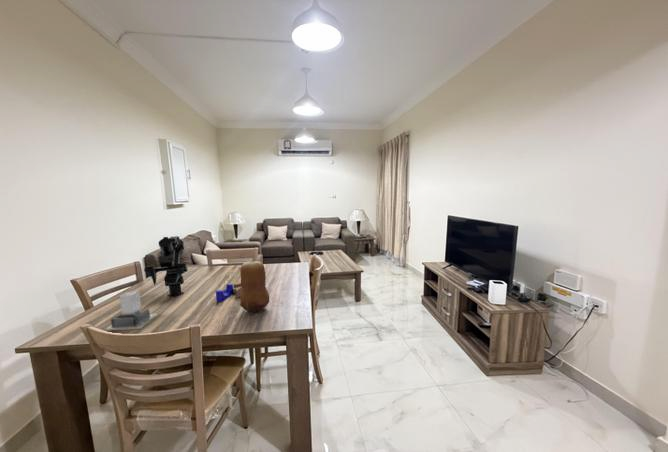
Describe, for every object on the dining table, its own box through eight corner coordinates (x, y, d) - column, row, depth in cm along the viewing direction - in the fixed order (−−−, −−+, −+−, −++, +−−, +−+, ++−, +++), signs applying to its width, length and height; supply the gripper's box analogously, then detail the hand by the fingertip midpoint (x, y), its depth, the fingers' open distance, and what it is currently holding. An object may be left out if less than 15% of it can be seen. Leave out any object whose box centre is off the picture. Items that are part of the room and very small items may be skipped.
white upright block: (131, 318, 123) (127, 291, 121) (142, 318, 123) (139, 291, 121) (122, 323, 118) (119, 295, 116) (134, 323, 118) (131, 295, 116)
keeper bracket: (128, 316, 127) (127, 307, 126) (157, 315, 127) (157, 306, 127) (106, 330, 114) (105, 320, 113) (139, 328, 115) (138, 319, 114)
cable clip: (226, 293, 155) (225, 283, 155) (233, 293, 155) (232, 284, 154) (214, 301, 144) (213, 291, 143) (221, 302, 143) (220, 291, 142)
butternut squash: (261, 302, 140) (258, 256, 138) (274, 310, 131) (272, 261, 128) (236, 311, 131) (232, 262, 128) (248, 319, 121) (245, 266, 118)
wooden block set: (231, 281, 161) (261, 276, 169) (232, 290, 162) (261, 285, 170) (234, 289, 146) (266, 284, 154) (235, 299, 147) (267, 293, 155)
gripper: (143, 251, 134) (138, 278, 125) (184, 247, 140) (182, 273, 131) (149, 262, 142) (145, 288, 133) (188, 258, 148) (186, 283, 139)
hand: (165, 283), depth 134 cm, fingers open, 9 cm apart
